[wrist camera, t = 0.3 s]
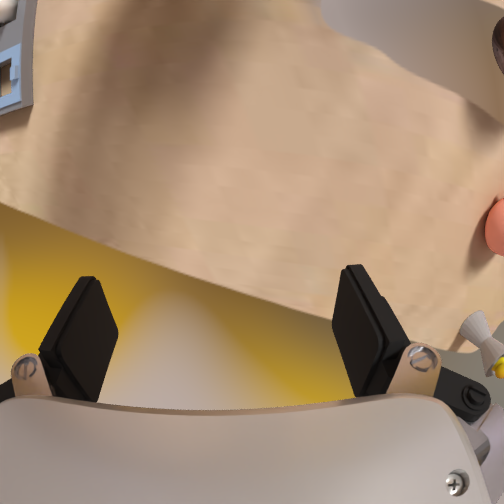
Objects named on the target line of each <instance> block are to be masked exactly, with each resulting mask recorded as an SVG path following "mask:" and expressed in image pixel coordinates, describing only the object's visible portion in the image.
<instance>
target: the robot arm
mask: <svg viewBox="0 0 504 504" xmlns="http://www.w3.org/2000/svg"><path fill="white" fill-rule="evenodd" d="M332 329H333V332H334V335H335V338H336V341H337V344H338V347H339V349H340V353H341V356H342V359H343V362H344V365H345V368H346V370H347V374H348V377H349V380H350V383H351V386H352V389H353V392H354V395H355V397H357V398H351V399H345V400H338V401H331V402H323V403H314V404H306V405H297V406H287V407H275V408H263V409H262V408H261V409H240V410H174V409H155V408H141V407H130V406H120V405H111V404H103V403H96V402H97V401H98V398H99V394H100V391H101V388H102V384H103V381H104V378H105V375H106V372H107V369H108V365H109V362H110V359H111V356H112V353H113V350H114V348H115V345H116V341H117V339H118V328H117V326H116V323H115V321H114V319H113V316H112V313H111V311H110V308H109V306H108V303H107V301H106V298H105V295H104V292H103V289H102V286H101V283H100V281H99V280H96V278H95V277H94V276H85V277H84V276H82V277H80V278H79V280H78V281H77V283H76V284H75V286H74V287H73V289H72V291H71V292H70V294H69V296H68V297H67V299H66V301H65V302H64V304H63V306H62V307H61V309H60V311H59V312H58V314H57V316H56V318H55V319H54V321H53V323H52V325H51V326H50V328H49V330H48V332H47V334H46V336H45V337H44V339H43V341H42V343H41V345H40V347H39V349H38V350H39V351H40V353H39V355H38V356H37V355H36V354H25V355H23V356H21V357H20V358H18V359H17V360H16V361H15V363H14V364H13V366H12V369H11V379H10V380H8V381H7V382H4V383H3V384H1V385H0V504H496V503H497V501H498V500H499V498H500V496H501V495H502V493H503V492H504V409H503V408H502V407H501V406H499V405H498V404H497V403H495V404H494V405H492V404H491V403H490V402H491V398H490V394H489V392H488V391H487V389H486V388H485V387H484V386H483V385H481V384H480V383H478V382H476V381H473V380H471V379H469V378H467V377H464V376H462V375H460V374H458V373H455V372H453V371H451V370H449V369H446V368H444V367H442V366H441V363H442V360H441V357H440V355H439V353H438V352H437V351H436V350H435V349H434V348H433V347H431V346H429V345H427V344H424V343H414V344H411V343H410V341H409V339H408V337H407V335H406V334H405V332H404V330H403V328H402V326H401V325H400V323H399V321H398V319H397V318H396V316H395V314H394V312H393V311H392V309H391V307H390V306H389V304H388V302H387V300H386V299H385V298H384V297H383V296H381V295H380V293H379V292H378V290H377V288H376V287H375V285H374V283H373V282H372V280H371V278H370V277H369V275H368V273H367V272H366V270H365V269H364V267H363V266H362V265H361V264H357V265H347V266H346V268H345V269H342V271H341V275H340V281H339V287H338V292H337V298H336V303H335V308H334V314H333V319H332Z"/></svg>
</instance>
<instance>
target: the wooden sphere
mask: <svg viewBox="0 0 504 504" xmlns="http://www.w3.org/2000/svg"><path fill="white" fill-rule="evenodd" d="M492 46H493V52H494V56H495V59H496V61H497V64H498V66H499V68H500V69H501V71H502V73H503V74H504V17H503V18H501V20H499V21H498V23H497V24H496V26H495V29H494V31H493V37H492Z"/></svg>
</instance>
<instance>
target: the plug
mask: <svg viewBox="0 0 504 504" xmlns="http://www.w3.org/2000/svg"><path fill="white" fill-rule="evenodd" d="M17 8H18V0H0V23H10V22H12V21H14V20H16V15H17Z"/></svg>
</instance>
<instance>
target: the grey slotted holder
mask: <svg viewBox="0 0 504 504" xmlns="http://www.w3.org/2000/svg"><path fill="white" fill-rule="evenodd" d="M36 6H37V0H19V1H18V8H17V15H16V20H14V21H12V22H10V23H8V24H6V25H4V23H0V116H1V115H4V114H6V113H9V112H12V111H15V110H18V109H21V108H24V107H27V106H31V105H33V82H32V61H33V37H34V25H35V15H36ZM10 63H11V67H10V81H11V89H12V93H10V94H7V95H5V96H2V97H1V67H3V66H5V65H8V64H10Z"/></svg>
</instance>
